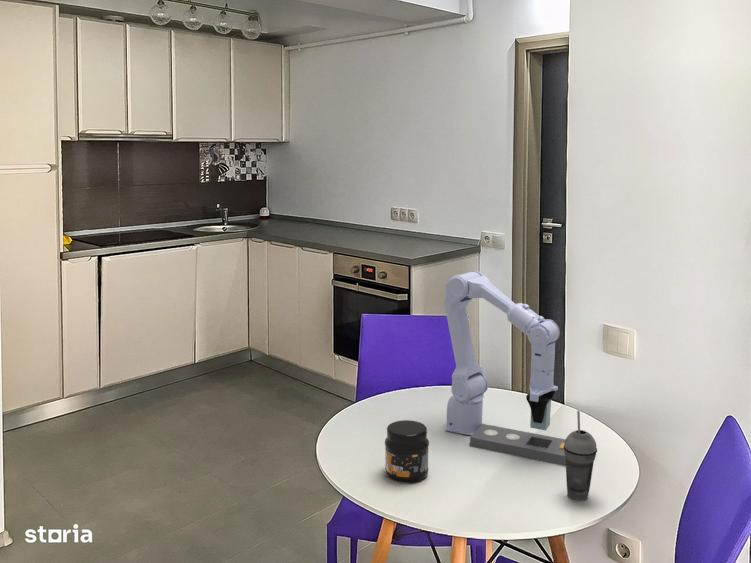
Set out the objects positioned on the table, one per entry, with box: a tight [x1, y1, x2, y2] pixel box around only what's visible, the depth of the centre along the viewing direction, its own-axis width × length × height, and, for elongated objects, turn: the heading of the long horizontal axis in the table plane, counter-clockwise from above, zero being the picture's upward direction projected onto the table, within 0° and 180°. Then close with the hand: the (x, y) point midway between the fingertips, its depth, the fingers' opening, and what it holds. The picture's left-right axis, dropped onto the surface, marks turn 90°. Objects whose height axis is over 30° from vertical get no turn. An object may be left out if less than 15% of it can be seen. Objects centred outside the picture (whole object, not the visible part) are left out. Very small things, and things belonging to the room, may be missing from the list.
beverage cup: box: [564, 410, 598, 502], centre depth 160 cm, size 7×7×20 cm
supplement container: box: [384, 419, 430, 484], centre depth 172 cm, size 10×10×12 cm
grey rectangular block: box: [529, 399, 552, 431], centre depth 183 cm, size 4×4×7 cm
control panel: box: [469, 423, 566, 467], centre depth 186 cm, size 26×10×3 cm, turn 62°
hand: (540, 419), depth 183 cm, fingers closed on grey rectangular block, 4 cm apart
